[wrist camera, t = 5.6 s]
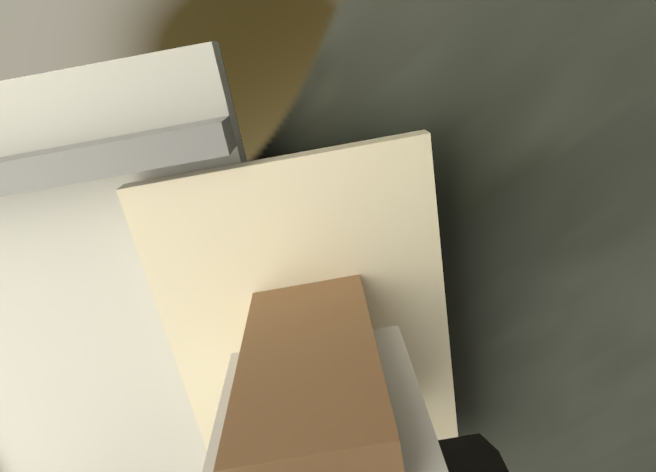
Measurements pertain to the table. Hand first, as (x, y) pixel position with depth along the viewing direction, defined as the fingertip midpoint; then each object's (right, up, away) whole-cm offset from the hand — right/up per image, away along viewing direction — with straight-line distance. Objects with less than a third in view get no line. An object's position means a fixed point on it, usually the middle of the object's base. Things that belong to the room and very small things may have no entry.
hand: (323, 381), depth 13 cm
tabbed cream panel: (0, +1, +2) cm, 2 cm away
